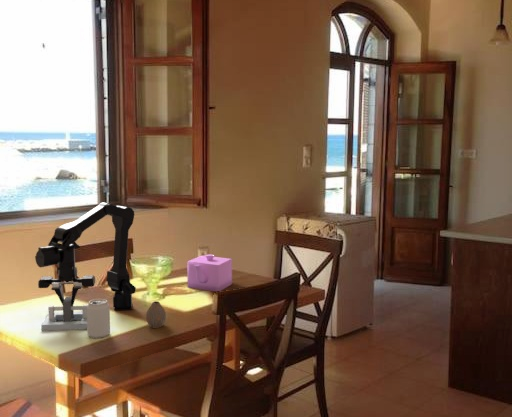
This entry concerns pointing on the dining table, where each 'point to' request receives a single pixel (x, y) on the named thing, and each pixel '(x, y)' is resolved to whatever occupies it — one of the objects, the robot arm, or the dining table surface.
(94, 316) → the can
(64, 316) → the tall grey upright block
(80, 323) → the square frame
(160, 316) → the vase
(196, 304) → the dining table surface
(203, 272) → the pink knobbed box
